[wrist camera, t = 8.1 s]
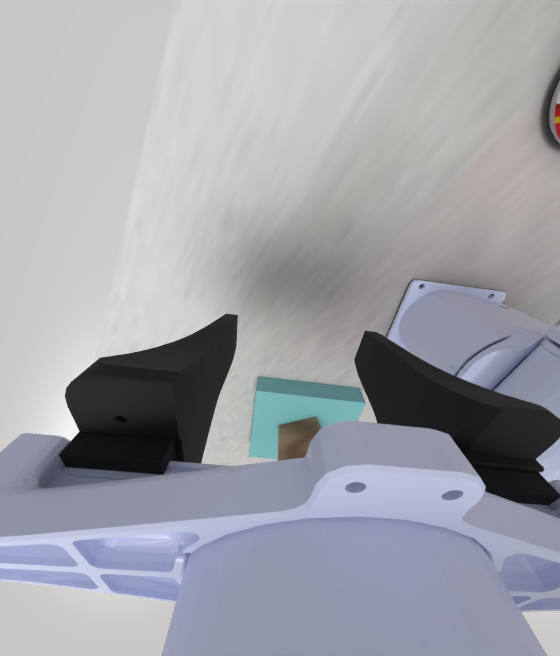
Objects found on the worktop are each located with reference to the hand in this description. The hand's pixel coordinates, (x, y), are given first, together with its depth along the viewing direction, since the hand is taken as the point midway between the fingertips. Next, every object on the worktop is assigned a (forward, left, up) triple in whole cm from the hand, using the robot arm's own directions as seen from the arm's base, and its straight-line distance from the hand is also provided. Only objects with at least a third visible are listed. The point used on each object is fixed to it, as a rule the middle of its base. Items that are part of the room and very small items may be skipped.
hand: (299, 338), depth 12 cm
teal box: (-4, +19, -11) cm, 22 cm away
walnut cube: (-4, +19, -8) cm, 21 cm away
